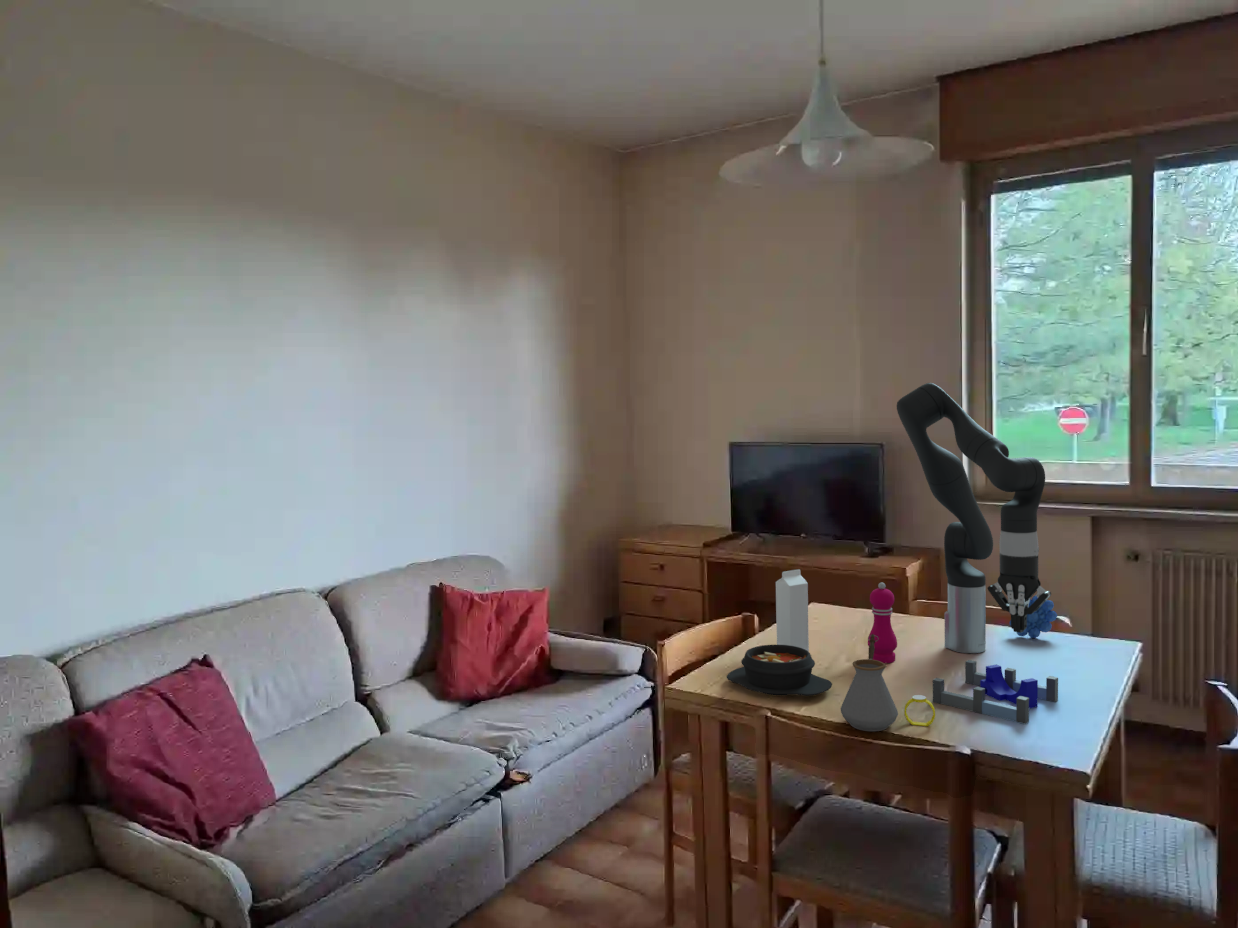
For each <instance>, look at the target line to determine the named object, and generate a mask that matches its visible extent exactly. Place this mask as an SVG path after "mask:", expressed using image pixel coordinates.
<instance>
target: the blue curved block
mask: <svg viewBox="0 0 1238 928" xmlns="http://www.w3.org/2000/svg"><path fill="white" fill-rule="evenodd" d="M985 674H986V679H984V680H980V686H979V687H981V688H985V696H988V697H991V698H992V699H994V700H997V701H999V702H1001V701H1007V702H1010V703H1012V704H1014V705H1016V703H1017V698H1018V697H1019V696H1023V697H1027V698H1029V709H1033V708H1037V707H1038V705H1039V704H1038V699H1039V698H1038V685H1039V683H1038V679H1035V678H1033V677H1030V678H1027V679H1026V678H1025V679H1021V680H1020V681H1021V686H1020V689H1019V690H1018V692H1015V691H1014V690H1012V689H1011V688H1010V687H1009V686H1008V685H1007V683H1006V682H1005V680H1004V678H1005V676H1004V675H1003V671H1002V666H1001V665H998V664H991V665H986V666H985Z"/></svg>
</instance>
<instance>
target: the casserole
mask: <svg viewBox="0 0 1238 928" xmlns="http://www.w3.org/2000/svg"><path fill="white" fill-rule="evenodd" d="M741 665H742V666H741V667H737V668H736V669H733V670H732V671H730V672H728V673H727V675H726V679H727V680H728V681H730V682H732V683H735V684H738V685H741V686H742V687H743V688H745V689H747V690H750V691H753V692H757V693H760V694H764V695H769V696H781V697H784V696H792V695H793V696H806V697H808V696H810V697H811V696H817V695H820V694H822V693H825V692H827V691H829V690H830V689H831V688H832V686H833V683H832V682H831V680H829V679H826V678H824V677H820V676H817V675H815V674H814V673H812V671H813V668H814V667H815V665H816V662H815V660H814V659H813V658H812V654H811V652H808V651H807V650H805V649H803V648H799V647H795V646H789V645H777V644H766V645H757V646H754V647H751V648H748V650H746V651H745V654H744V657H743V658H742V659H741Z"/></svg>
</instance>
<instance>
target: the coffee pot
mask: <svg viewBox="0 0 1238 928" xmlns="http://www.w3.org/2000/svg"><path fill="white" fill-rule="evenodd" d="M870 636H871V639H870V640H869V637H870ZM870 636H869V635H868V637H867V641H868V640H869V642H870V645H869V646H868V658H867V659H866V658H865V659H863V658H862V659H856V660H854V661H853V662H852V667H854V670H855V674H854V676H853V679H852V681H851V684H850V685H849V688H848V689H847V692H846V694H845V696H844V698H843V702H842V703H841V706H840V713H841V716H842V718H844V719H845V721H847V723H849V724H850V726H852V728H854V729H857V730H860V731H865V732H879V731H884V730H886V729H888V728H889V726H891V725H892V724H893V723H895V722H896V720H897V717H898V715H899V711H898V709H897V706H896V703H895V701H894V699H893V697H892V695H891V692H890V690H889V689H888V685H887V683H886V682H885V679H884V677H883V672H884V671H885V669H886V668H887V664H886V663H883V662H880V661H877V660H873V655H874V649H875V647H874V643H875V642H876V641H878V640H876V641H875V640H874V639H875V637H874V636H875V635H874V634H872V635H870ZM876 637H877V636H876ZM877 638H878V637H877ZM878 639H879V638H878Z"/></svg>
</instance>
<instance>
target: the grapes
mask: <svg viewBox="0 0 1238 928" xmlns="http://www.w3.org/2000/svg"><path fill="white" fill-rule="evenodd" d="M1036 600H1037V596H1036V594H1035V595H1034V596H1032V597H1031V598H1030V602H1029V606H1028V607H1030V606H1031V605H1032V604H1033V603H1034V602H1035V601H1036ZM1054 604H1055V603H1054V601H1052V600H1050V599H1047V600H1046V601H1045V602H1044V603H1043V604H1042V605H1041V607H1040V608H1039V609H1038V610H1037V611H1036V612H1033V613H1032V614H1027V628H1026V629H1025V630H1024V631H1023V632H1022V633H1020V632H1016V634H1017V636H1019V637H1025V636H1027V635H1028V636H1029V638H1031V639H1036V638H1038V637H1039V636H1040V635H1041V632H1042V633H1048V632H1050V631H1051V629H1052V627H1053V626H1052V622H1054V621H1056V619H1057V617H1058V614H1057V612H1056V611H1054V610H1053V609H1054V607H1055V605H1054ZM1009 626H1010V627H1011V619H1010V620H1009Z"/></svg>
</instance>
